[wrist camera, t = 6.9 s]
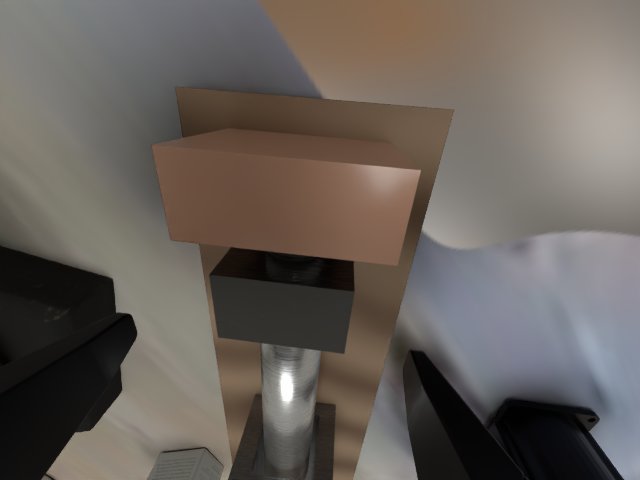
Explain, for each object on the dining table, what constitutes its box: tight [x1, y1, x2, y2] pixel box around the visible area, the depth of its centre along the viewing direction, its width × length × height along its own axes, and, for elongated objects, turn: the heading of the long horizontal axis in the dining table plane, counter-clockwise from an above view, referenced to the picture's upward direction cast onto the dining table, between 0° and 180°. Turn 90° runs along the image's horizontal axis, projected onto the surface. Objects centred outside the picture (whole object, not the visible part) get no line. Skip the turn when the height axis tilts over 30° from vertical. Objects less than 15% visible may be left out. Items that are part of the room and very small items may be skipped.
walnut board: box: [175, 87, 454, 480], centre depth 20 cm, size 35×12×1 cm, turn 176°
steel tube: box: [209, 247, 355, 480], centre depth 15 cm, size 21×5×5 cm, turn 176°
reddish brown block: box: [151, 128, 421, 266], centre depth 10 cm, size 3×7×6 cm, turn 86°
